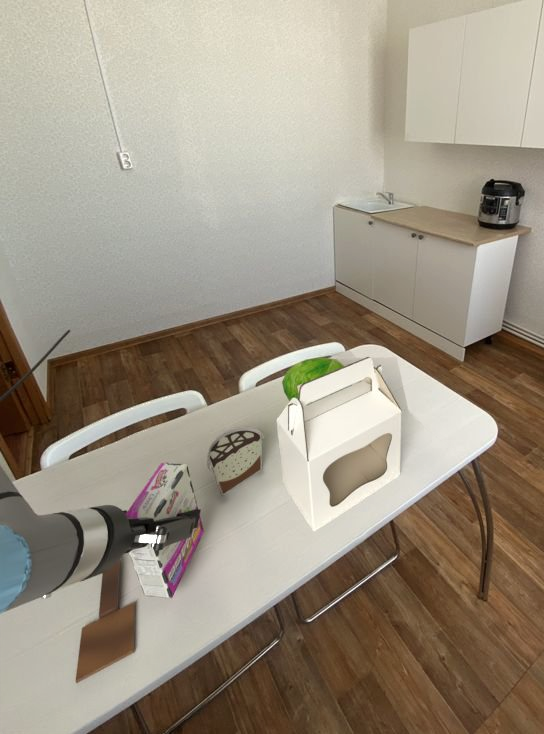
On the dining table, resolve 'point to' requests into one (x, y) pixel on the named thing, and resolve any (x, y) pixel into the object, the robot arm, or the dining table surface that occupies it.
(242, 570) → the dining table surface
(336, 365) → the lettuce
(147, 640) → the dining table surface
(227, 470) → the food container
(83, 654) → the spatula
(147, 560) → the candy bar box
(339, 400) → the gable box
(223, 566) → the dining table surface
